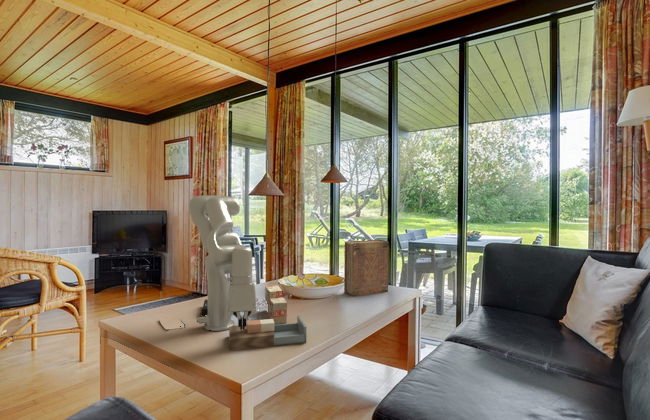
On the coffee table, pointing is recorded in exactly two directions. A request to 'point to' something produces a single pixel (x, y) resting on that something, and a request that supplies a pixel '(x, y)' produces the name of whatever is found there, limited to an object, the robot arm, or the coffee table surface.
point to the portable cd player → (205, 308)
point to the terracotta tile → (253, 326)
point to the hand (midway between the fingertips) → (242, 328)
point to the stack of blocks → (276, 304)
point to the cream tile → (267, 325)
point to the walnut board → (249, 338)
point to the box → (290, 333)
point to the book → (366, 267)
